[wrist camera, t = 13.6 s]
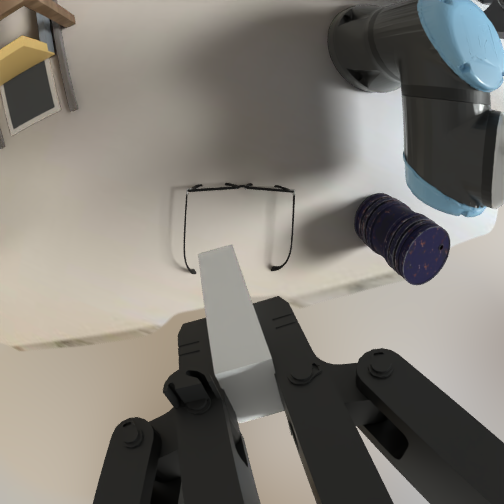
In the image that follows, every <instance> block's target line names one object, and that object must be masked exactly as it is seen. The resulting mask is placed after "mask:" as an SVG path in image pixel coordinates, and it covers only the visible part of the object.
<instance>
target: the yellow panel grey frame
mask: <svg viewBox="0 0 504 504" xmlns="http://www.w3.org/2000/svg"><path fill="white" fill-rule="evenodd" d="M36 15H37V24H38V31H39V38H40V41H38V40H35V39H32V38H29V37H26V36H23V35H22V36H21V37H19V38H18V39H16V40H14V41H13V42H11V43H10V44H8V45H6V46H5V47H3V48H2V49H0V86H1V85H3V84H4V83H6V82H8V81H9V80H11V79H12V78H14V77H16V76H17V75H19V74H21V73H22V72H24V71H26V70H27V69H29V68H31V67H33V66H34V65H36V64H38V63H40V62H42V61H44V60H45V59H47V58H49V57H51V56H53V55H55V51H54V45H53V39H52V33H51V26H50V19H49V18H47V17H45V16H43V15H41V14H39V13H37V12H36Z"/></svg>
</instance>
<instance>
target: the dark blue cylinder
mask: <svg viewBox="0 0 504 504" xmlns="http://www.w3.org/2000/svg"><path fill="white" fill-rule="evenodd" d="M354 225H355V231H356V233H357V235H358V236H359V238H361V239H362V240H363V241H364V242H365V244H366V245H367V246H368V247H370V248H371V249H372V250H373V251H374V252H376V253H377V254H379V255H381V256H383V257H384V258H385V260H386V262H387V263H388V265H389V266H390V267H391V268H393V269H394V270H395V271H396V272H397V273H398V274H399V275H401V276H402V277H403V278H404V279H405V280H406V281H407V282H409V283H410V284H412V285H421V284H424V283H426V282H428V281H430V280H431V279H432V278H434V277H435V276H436V275H437V274H438V272H439V271H440V270H441V269H442V267H443V265H444V264H445V262H446V260H447V257H448V254H449V250H450V238H449V235H448V233H447V231H446V230H445V229H443V228H442V227H440V226H438V225H437V224H436V223H435V222H434V221H432V220H430V219H429V218H427V217H426V216H424V215H422V214H419V213H415V212H414V211H412V210H411V209H410V208H409V207H408V206H407V205H406V204H404V203H402V202H401V201H399V200H397V199H395V198H392V197H391V196H389V195H387V194H384V193H378V194H374V195H372V196H370V197H368V198H367V199H366V200H365V201H363V203H362V204H361V205H360V207H359V208H358V210H357V213H356V216H355V222H354Z"/></svg>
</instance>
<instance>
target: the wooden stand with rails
mask: <svg viewBox="0 0 504 504" xmlns="http://www.w3.org/2000/svg"><path fill="white" fill-rule="evenodd" d="M23 6H25V7H27V8H29V9H31V10H33V11H35V12H37V13H39V14H41V15H43V16H45V17H47V18H49V19H51V20H52V25H53V32H54V38H55V44H56V50H57V55H58V60H59V65H60V70H61V75H62V79H63V84H64V88H65V92H66V96H67V100H68V104H69V108H70V111H74V110H76V109H78V107H77V103H76V99H75V95H74V91H73V87H72V83H71V78H70V74H69V69H68V65H67V60H66V55H65V49H64V44H63V38H62V32H61V26H60V25H62V26H64V27H65V28H67V27H70V26H72V25H74V24H75V18H74V15H72V14H71V13H70V12H68V11H67V10H65V9H64V8H62V7H61V6H60V5H58V4H57V0H0V21H1V20H2V19H4V18H5V17H7V16H8V15H10V14H11V13H13V12H14V11H16V10H18V9H19V8H21V7H23ZM3 147H5V144H4V140H3V136H2V133H1V129H0V149H2V148H3Z"/></svg>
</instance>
